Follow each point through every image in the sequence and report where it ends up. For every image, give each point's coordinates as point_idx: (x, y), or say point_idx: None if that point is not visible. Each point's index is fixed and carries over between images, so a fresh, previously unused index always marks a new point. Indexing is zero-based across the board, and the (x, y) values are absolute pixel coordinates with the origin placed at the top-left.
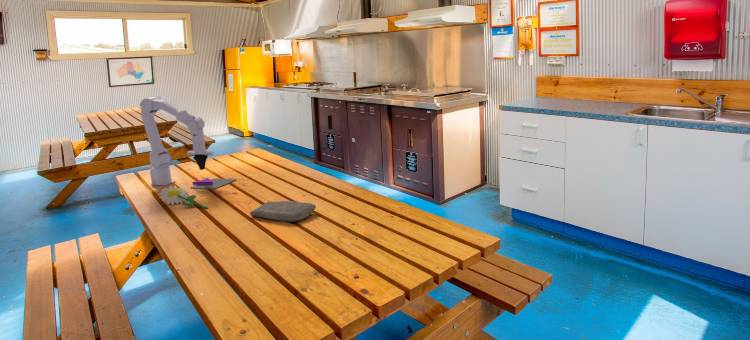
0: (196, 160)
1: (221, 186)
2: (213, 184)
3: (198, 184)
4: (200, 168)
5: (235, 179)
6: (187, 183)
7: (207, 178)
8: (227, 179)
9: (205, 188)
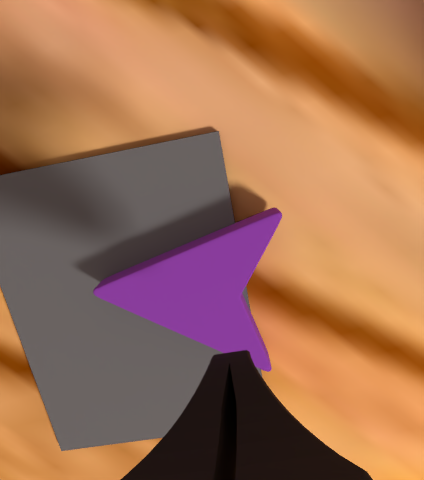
0: (279, 441)
1: (2, 278)
2: None
3: (221, 229)
4: (229, 358)
5: (67, 446)
6: (404, 250)
7: None
8: (130, 429)
9: (50, 165)
